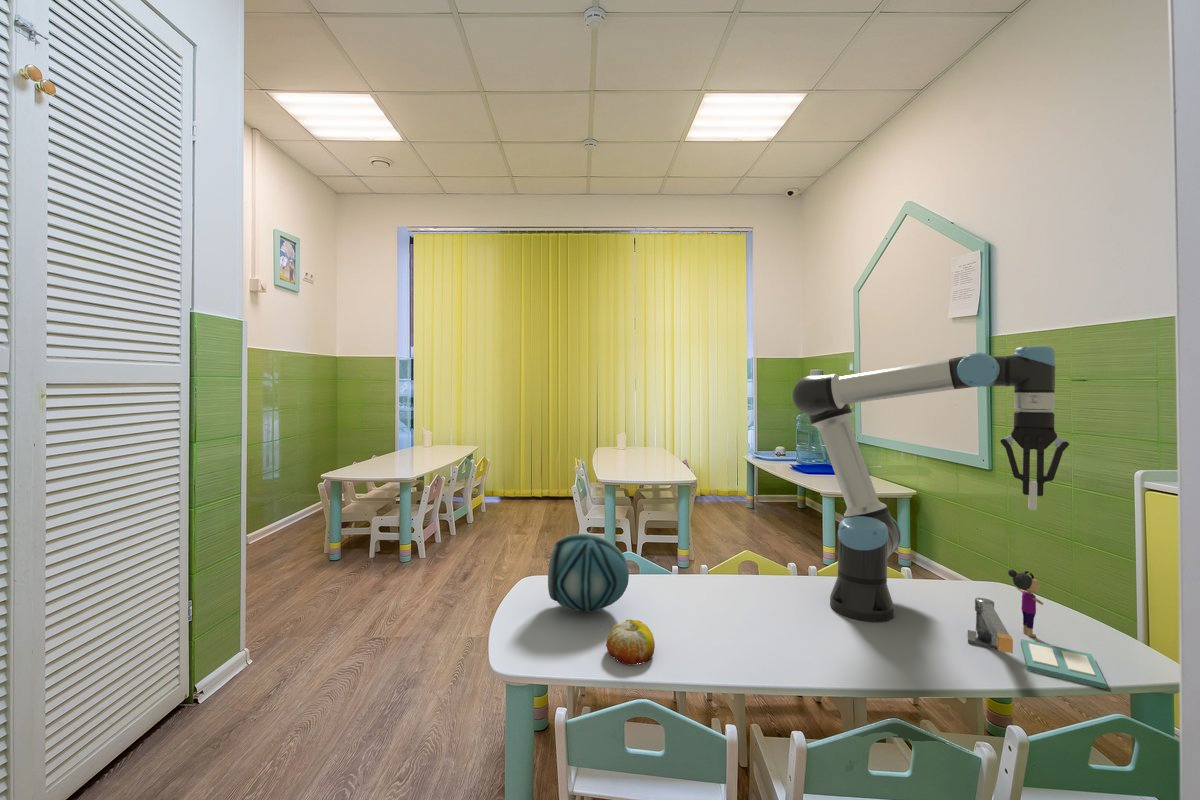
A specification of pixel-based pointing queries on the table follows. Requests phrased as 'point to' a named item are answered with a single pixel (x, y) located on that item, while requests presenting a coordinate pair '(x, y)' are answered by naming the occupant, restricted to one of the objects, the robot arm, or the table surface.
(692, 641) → the table surface
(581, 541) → the toy
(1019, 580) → the toy
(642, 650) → the fruit
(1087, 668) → the mat
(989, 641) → the post
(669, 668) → the table surface
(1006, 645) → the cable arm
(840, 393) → the robot arm
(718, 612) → the table surface
